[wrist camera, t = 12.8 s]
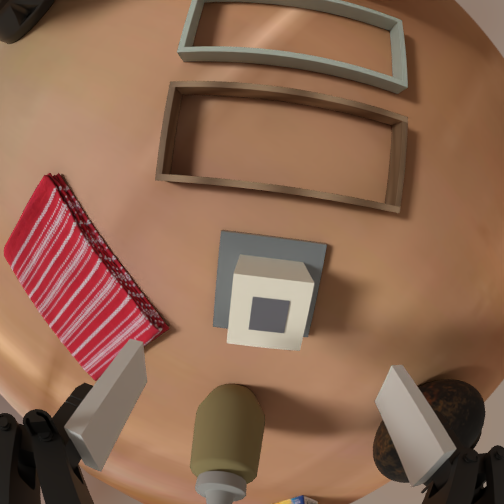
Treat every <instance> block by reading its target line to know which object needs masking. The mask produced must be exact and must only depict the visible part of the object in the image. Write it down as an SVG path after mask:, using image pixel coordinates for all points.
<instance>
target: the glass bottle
mask: <svg viewBox="0 0 504 504" xmlns="http://www.w3.org/2000/svg"><path fill="white" fill-rule="evenodd" d="M418 388H419V390H420V391H421V393H422V394H423V396H424V397H425V399H426V400H427V402H428V403H429V405H430V406H431V408H432V409H433V411H435V410H437V411H439V412H440V413H441V414H442V415H444V417H445V418H446V420H447V421H448V424H449V425H450V426H451V429H453V431H454V432H455V434H456V436H457V437H458V439H459V440H460V442H461V444H462V445H463V447H464V448H471V449H474V447H475V446H476V444H477V442H478V441H479V439H480V436H481V430H482V427H483V424H484V418H485V407H484V401H483V398H482V397H481V394H480V393H479V392H478V391H477V390H476V389H475V388H474V387H473V386H471V385H470V384H468V383H466V382H463V381H459V380H449V379H448V380H438V381H433V382H429V383H427V384H424V385H422V386H420V387H418ZM373 457H374V461H375V464H376V466H377V468H378V470H379V471H380V472H381V473H382V474H383V475H384V476H385V477H387V478H388V479H391V480H393V481H397V482H403V483H410V482H409V480H408V477H407V475H406V472H405V470H404V467H403V465H402V462H401V460H400V458H399V455H398V453H397V451H396V448H395V446H394V444H393V441H392V439H391V437H390V434H389V432H388V430H387V427H386V425H385V423H384V421H383V420H382V422H381V424H380V426H379V428H378V430H377V433H376V436H375V439H374V444H373ZM432 481H433V479H432V477H430V478H429V479H428V480H427V481H426V482H425V483H423V484H424V485H425V486H428V485H429V484H430V483H431V482H432Z"/></svg>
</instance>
